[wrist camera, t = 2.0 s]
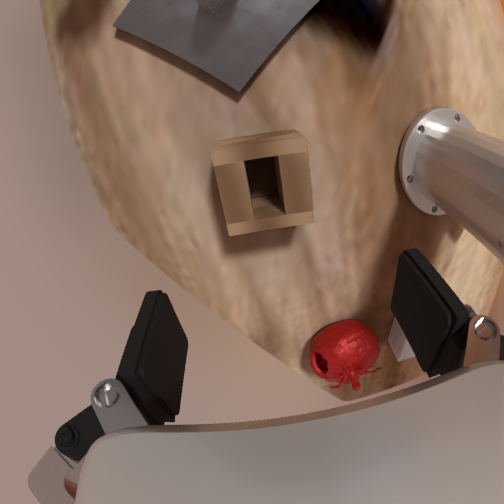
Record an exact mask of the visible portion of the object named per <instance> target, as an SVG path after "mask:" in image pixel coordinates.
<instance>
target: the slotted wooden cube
mask: <svg viewBox="0 0 504 504" xmlns="http://www.w3.org/2000/svg"><path fill="white" fill-rule="evenodd" d="M271 156H273V159H274V166H275V172H276V179H277V187H278V194H274V195H268V196H261V197H255V198H252V195H251V190H250V184H249V178H248V173H247V167H246V162H245V161H246V160H252V159H258V158H264V157H271ZM211 158H212V162H213V167H214V171H215V176H216V180H217V185H218V189H219V194H220V198H221V203H222V207H223V211H224V216H225V220H226V224H227V229H228V233H229V236H234V235H240V234H246V233H252V232H258V231H264V230H270V229H277V228H283V227H289V226H296V225H302V224H309V223H314V212H313V200H312V188H311V177H310V167H309V157H308V148H307V139H306V137H305V136H303V135H302V134H300V133H299V132H298V131H296V130H295V129H293V130H285V131H278V132H270V133H263V134H257V135H251V136H245V137H239V138H233V139H228V140H223V141H218V142H216V143H215V145H214V147H213V149H212V151H211Z"/></svg>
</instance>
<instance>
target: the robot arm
mask: <svg viewBox="0 0 504 504" xmlns="http://www.w3.org/2000/svg"><path fill="white" fill-rule="evenodd" d="M399 176H400V180H401V184H402V187H403V189H404V192H405V194H406V196H407V197H408V198H409V200H410V201H411V202H412V203H413V204H414V205H415V206H416V207H417V208H419V209H420V210H421V211H423V212H425V213H427V214H430V215H437V216H438V215H445V214H448V215H449V216H450V217H452V218H453V219H454V220H455V221H456V222H458V223H459V224H460V225H461V226H462V227H464V228H465V229H466V230H467V231H468V232H469V233H470V234H472V235H473V236H474V237H475V238H476V239H477V240H478V241H479V242H481V243H482V244H483V245H484V246H485V247H486V248H487V249H488V250H489V251H490V252H491V253H492V254H493V255H494V256H495V257H497V258H498V259H499V260H500V261H501V262H502V263H503V264H504V141H502V140H500V139H497V138H495V137H492V136H490V135H487V134H484V133H481V132H479V131H476V129H475V127H474V126H473V124H472V123H471V122H470V120H469V119H468V118H467V117H465V116H464V115H463V114H462V113H460V112H458V111H456V110H453V109H449V108H443V107H438V108H432V109H429V110H427V111H425V112H423V113H422V114H421V115H419V116H418V117H417V118H416V119H415V120H414V121H413V122H412V124H411V125H410V127H409V128H408V130H407V132H406V133H405V136H404V139H403V141H402V144H401V149H400V153H399ZM391 310H392V312H393V314H394V316H395V318H396V320H397V322H398V323H399V325H400V327H401V329H402V331H403V333H404V335H405V337H406V338H407V340H408V342H409V344H410V346H411V348H412V350H413V352H414V354H415V356H416V358H417V360H418V362H419V364H420V366H421V369H422V370H423V371H424V372H427V374H428V376H429V378H430V377H432V376H435V375H438V374H440V375H441V376H439V377H437V378H434V379H431V380H428V381H426V382H423V383H420V384H417V385H414V386H411V387H409V388H406V389H402V390H399V391H396V392H393V393H390V394H387V395H383V396H380V397H376V398H373V399H369V400H366V401H362V402H358V403H354V404H350V405H345V406H341V407H337V408H332V409H328V410H322V411H318V412H312V413H307V414H301V415H295V416H289V417H281V418H274V419H267V420H257V421H247V422H235V423H220V424H196V425H164V422H175V415H178V414H179V410H180V403H181V394H182V386H183V379H184V371H185V364H186V356H187V349H188V340H187V337H186V335H185V333H184V331H183V329H182V327H181V324H180V322H179V320H178V318H177V316H176V313H175V311H174V309H173V306H172V304H171V302H170V300H169V297H168V295H167V294H166V293H163V292H162V291H161V290H156V291H149V292H147V293H146V295H145V297H144V300H143V302H142V305H141V308H140V311H139V314H138V316H137V319H136V322H135V325H134V326H133V327H132V329H131V332H130V335H129V338H128V341H127V344H126V347H125V350H124V353H123V356H122V359H121V362H120V365H119V369H118V372H117V375H116V378H115V379H112V378H110V379H105V380H103V381H101V382H99V383H98V384H97V385H96V386H95V387H94V389H93V391H92V393H91V403H92V404H91V405H90V406H89V407H87V408H86V409H84V410H83V411H82V412H80V413H79V414H78V415H76V416H75V417H73V418H72V419H71V420H69V421H68V422H66V423H65V424H63V425H62V426H61V427H60V428H59V429H58V431H57V433H56V436H55V445H56V446H55V447H52V446H51V447H50V448H49V450H48V451H47V452H46V453H45V455H44V456H43V457H42V459H41V460H40V461H39V462H38V464H37V465H36V466H35V467H34V469H33V470H32V471H31V473H30V475H29V477H28V485H29V488H30V490H31V491H32V493H33V494H34V495H35V497H36V498H37V499H38V501H39V502H40V503H41V504H504V336H503V335H500V328H499V326H498V324H497V323H496V322H495V320H493V319H492V318H491V317H488V316H486V315H477V316H475V317H473V318H471V317H470V315H469V314H470V313H469V311H468V310H467V309H466V307H465V306H464V305H463V303H462V302H461V301H460V299H459V298H458V297H457V295H456V294H455V293H454V292H453V290H452V289H451V288H450V287H449V285H448V284H447V283H446V282H445V280H444V279H443V278H442V277H441V275H440V274H439V273H438V272H437V271H436V269H435V268H434V267H433V266H432V265H431V264H430V262H429V261H428V260H427V259H426V258H425V257H424V256H423V254H422V253H421V252H420V251H419V250H418V249H417V248H413V249H408V250H404V251H403V252H402V254H401V255H400V256H399V260H398V267H397V273H396V279H395V285H394V291H393V296H392V301H391Z"/></svg>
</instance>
